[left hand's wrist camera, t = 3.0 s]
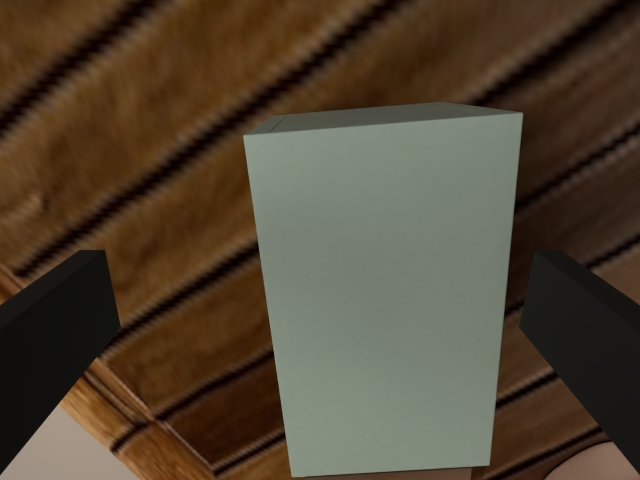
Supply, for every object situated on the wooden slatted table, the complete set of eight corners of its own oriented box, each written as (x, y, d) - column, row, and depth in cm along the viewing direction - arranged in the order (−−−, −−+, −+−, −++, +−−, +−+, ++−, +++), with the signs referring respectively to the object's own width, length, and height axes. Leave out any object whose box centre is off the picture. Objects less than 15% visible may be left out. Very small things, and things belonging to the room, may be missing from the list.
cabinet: (435, 345, 35) (489, 465, 24) (300, 354, 35) (291, 477, 24) (442, 101, 28) (523, 112, 17) (272, 115, 28) (242, 135, 17)
